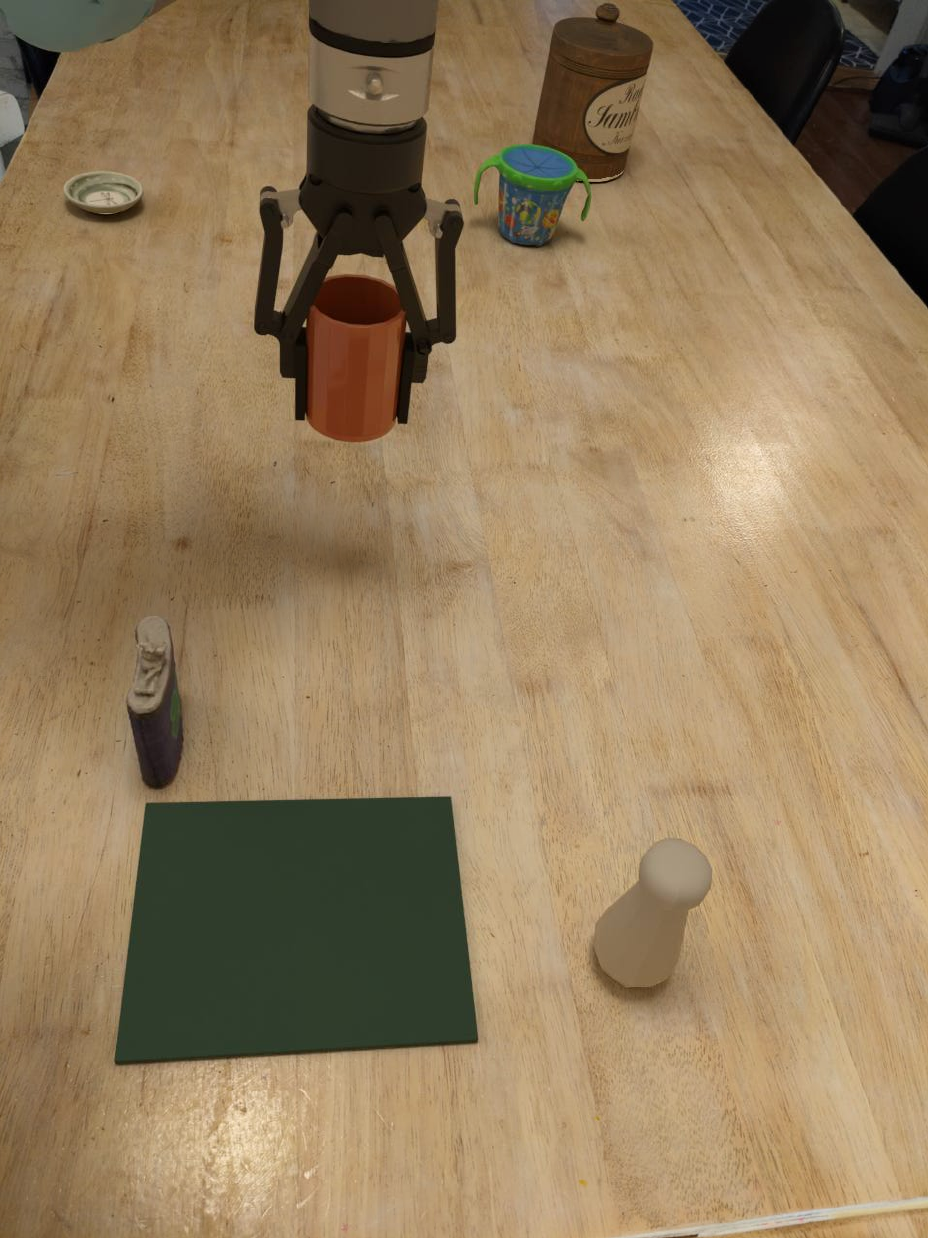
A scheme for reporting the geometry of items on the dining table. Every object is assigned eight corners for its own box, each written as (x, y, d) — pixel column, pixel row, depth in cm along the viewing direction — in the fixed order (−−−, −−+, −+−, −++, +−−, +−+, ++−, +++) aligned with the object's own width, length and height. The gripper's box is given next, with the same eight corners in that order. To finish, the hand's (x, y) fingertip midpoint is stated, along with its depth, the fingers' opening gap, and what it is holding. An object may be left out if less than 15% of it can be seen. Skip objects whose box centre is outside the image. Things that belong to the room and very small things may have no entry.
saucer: (51, 198, 131) (48, 179, 129) (121, 182, 136) (118, 164, 134) (89, 230, 127) (86, 211, 125) (159, 213, 132) (157, 195, 130)
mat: (115, 1064, 61) (114, 1061, 61) (146, 806, 73) (145, 802, 73) (477, 1042, 65) (478, 1039, 64) (450, 799, 77) (451, 796, 76)
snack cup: (583, 228, 144) (599, 155, 136) (578, 263, 136) (594, 188, 129) (474, 207, 144) (484, 133, 136) (463, 241, 137) (473, 165, 129)
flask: (148, 690, 80) (133, 596, 72) (186, 690, 81) (176, 596, 73) (138, 791, 74) (121, 699, 66) (180, 789, 75) (168, 698, 67)
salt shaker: (568, 950, 70) (612, 852, 60) (625, 904, 73) (676, 804, 63) (630, 1018, 67) (685, 927, 58) (686, 967, 70) (748, 873, 61)
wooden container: (598, 193, 152) (634, 31, 136) (513, 160, 156) (538, -1, 140) (639, 163, 161) (678, 8, 145) (557, 133, 166) (586, -21, 150)
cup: (305, 441, 78) (307, 324, 70) (304, 385, 83) (306, 271, 75) (399, 444, 79) (411, 329, 72) (393, 389, 84) (403, 276, 76)
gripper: (198, 120, 60) (217, 437, 76) (535, 148, 63) (482, 445, 80) (205, 71, 65) (221, 378, 81) (516, 99, 68) (471, 388, 85)
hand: (351, 411), depth 81 cm, fingers closed on cup, 7 cm apart
